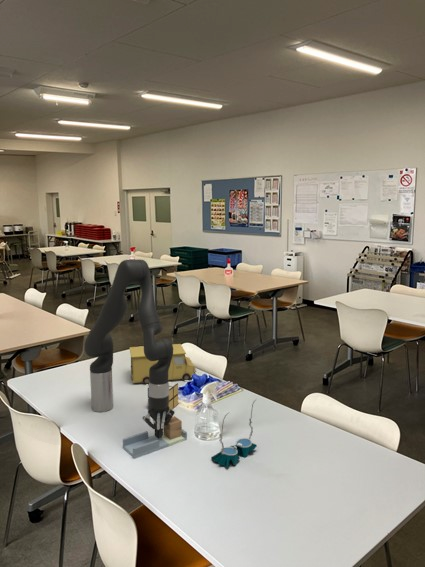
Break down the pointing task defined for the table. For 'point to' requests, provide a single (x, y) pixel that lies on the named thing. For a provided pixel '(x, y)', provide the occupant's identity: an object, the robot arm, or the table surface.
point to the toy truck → (141, 365)
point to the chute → (149, 443)
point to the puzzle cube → (172, 395)
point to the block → (173, 428)
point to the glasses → (234, 448)
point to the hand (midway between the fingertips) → (158, 437)
